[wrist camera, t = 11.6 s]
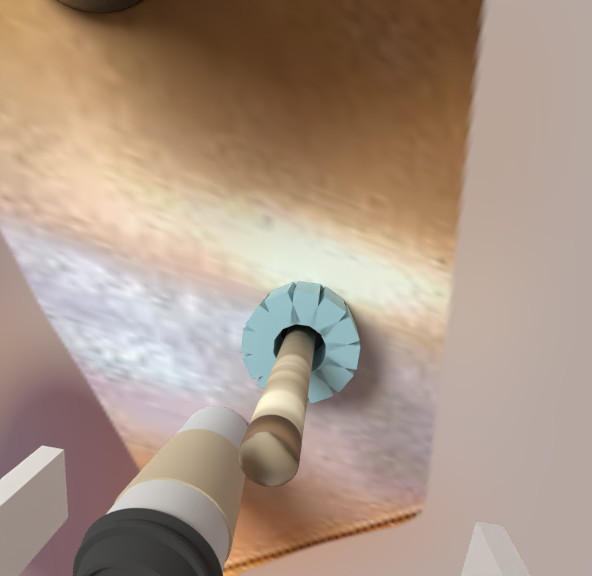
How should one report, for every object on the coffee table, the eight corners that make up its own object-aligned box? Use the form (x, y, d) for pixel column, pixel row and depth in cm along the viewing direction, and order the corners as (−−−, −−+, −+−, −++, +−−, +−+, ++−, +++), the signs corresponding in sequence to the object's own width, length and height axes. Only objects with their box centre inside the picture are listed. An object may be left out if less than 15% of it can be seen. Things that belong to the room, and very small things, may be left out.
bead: (258, 276, 28) (246, 284, 24) (362, 289, 28) (367, 300, 24) (249, 371, 30) (237, 393, 26) (347, 386, 30) (349, 411, 26)
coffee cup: (271, 407, 31) (219, 576, 16) (255, 487, 33) (196, 702, 18) (179, 386, 31) (47, 531, 17) (169, 466, 33) (44, 658, 19)
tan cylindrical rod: (289, 317, 29) (240, 426, 13) (318, 321, 29) (302, 437, 13) (286, 344, 29) (235, 480, 14) (314, 348, 29) (295, 491, 14)
